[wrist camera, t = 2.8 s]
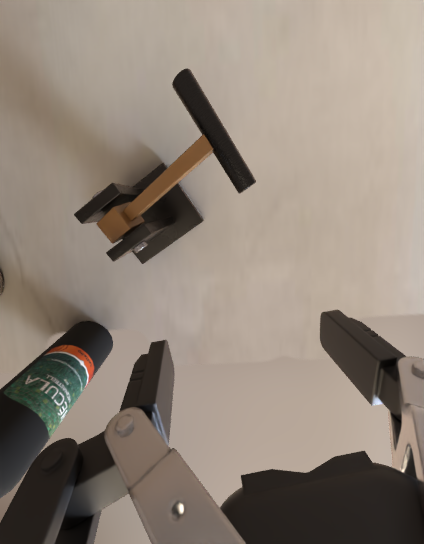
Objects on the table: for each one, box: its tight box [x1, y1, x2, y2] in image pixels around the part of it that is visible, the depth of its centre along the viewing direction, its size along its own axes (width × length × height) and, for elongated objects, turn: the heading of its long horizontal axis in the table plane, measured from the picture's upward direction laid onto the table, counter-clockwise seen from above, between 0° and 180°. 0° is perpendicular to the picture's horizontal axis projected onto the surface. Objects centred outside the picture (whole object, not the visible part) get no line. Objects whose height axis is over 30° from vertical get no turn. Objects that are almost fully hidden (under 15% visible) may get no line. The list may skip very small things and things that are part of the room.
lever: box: [97, 69, 256, 243], centre depth 18 cm, size 13×8×2 cm, turn 124°
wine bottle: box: [0, 321, 113, 498], centre depth 24 cm, size 8×8×30 cm
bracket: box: [74, 163, 203, 264], centre depth 26 cm, size 11×9×14 cm
